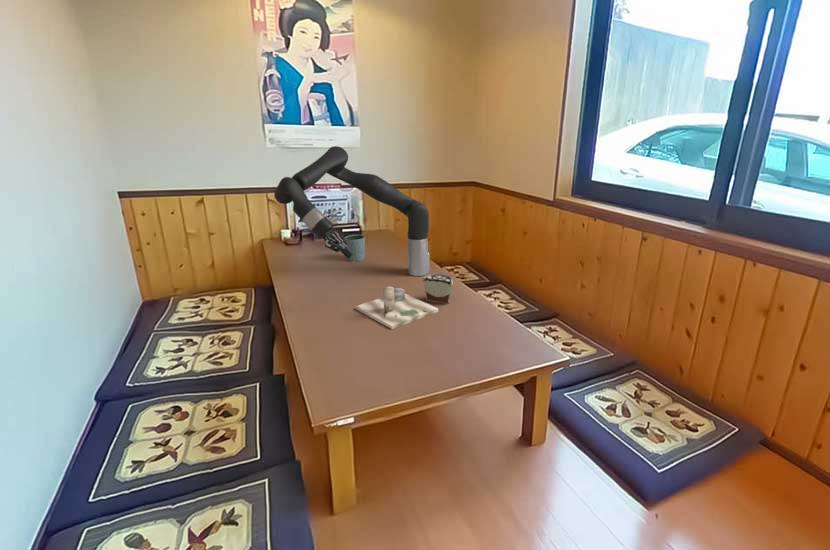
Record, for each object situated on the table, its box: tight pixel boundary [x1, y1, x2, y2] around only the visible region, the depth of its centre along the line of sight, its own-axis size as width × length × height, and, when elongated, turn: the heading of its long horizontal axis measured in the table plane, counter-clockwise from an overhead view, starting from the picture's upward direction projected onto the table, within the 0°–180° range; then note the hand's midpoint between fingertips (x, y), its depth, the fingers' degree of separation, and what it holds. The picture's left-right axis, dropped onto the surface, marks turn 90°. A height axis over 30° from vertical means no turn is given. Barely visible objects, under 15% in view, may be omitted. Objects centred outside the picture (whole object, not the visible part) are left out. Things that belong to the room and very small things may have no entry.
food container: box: [422, 273, 454, 305], centre depth 176 cm, size 12×6×10 cm, turn 65°
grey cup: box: [344, 234, 366, 262], centre depth 227 cm, size 10×10×12 cm
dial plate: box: [355, 293, 439, 330], centre depth 168 cm, size 22×23×1 cm
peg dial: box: [382, 286, 406, 313], centre depth 169 cm, size 18×6×8 cm, turn 166°
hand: (350, 256), depth 165 cm, fingers closed
